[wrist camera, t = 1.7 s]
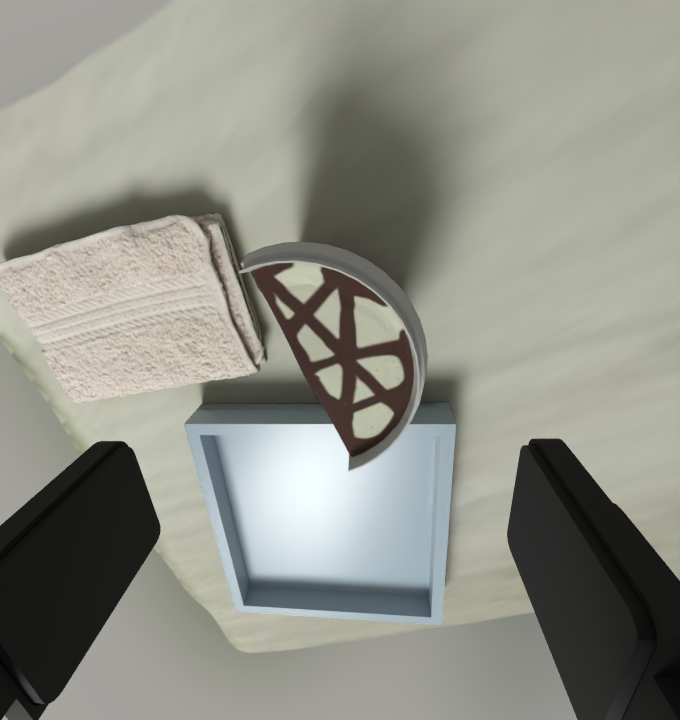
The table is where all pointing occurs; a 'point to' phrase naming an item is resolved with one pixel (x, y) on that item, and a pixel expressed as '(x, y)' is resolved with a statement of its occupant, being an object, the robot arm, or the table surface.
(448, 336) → the table surface
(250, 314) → the washcloth
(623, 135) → the table surface
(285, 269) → the food container
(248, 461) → the tray
